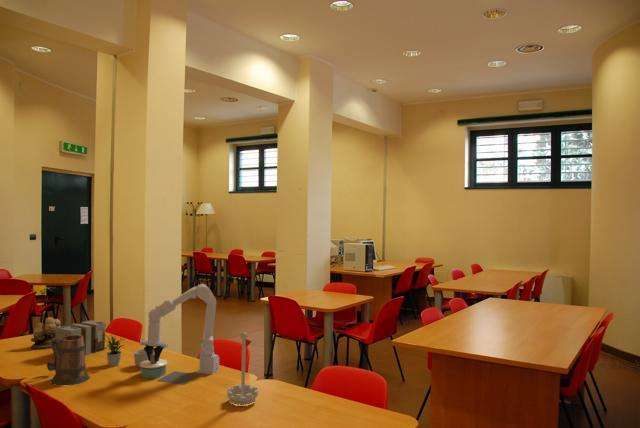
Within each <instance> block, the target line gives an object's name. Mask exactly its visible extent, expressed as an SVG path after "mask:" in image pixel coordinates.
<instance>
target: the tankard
mask: <svg viewBox="0 0 640 428" xmlns="http://www.w3.org/2000/svg"><path fill="white" fill-rule="evenodd" d="M51 349H52V352H53V356H54V357H53V358H54V359H53V360H51V361H47V363H46V368H47V370H48V371H49V372H52V371H54V372H55V375H54V376H53V377H52V379H51V380H50V381H51V383H52V384H51V383H50V384H51V385H53V384H56V385H55V386H57V385H69V386H75V384H76V385H80V384H83V383H86V382H88V380H90V378H91V377H90V375H88V372H87V371H86V365H87V364H86V360H85V359H86V357H85V356H86V355H85V344H84V339H83V336H81V335H74V336H65V337H61V338H60V339H57V340H53V341H52V348H51Z"/></svg>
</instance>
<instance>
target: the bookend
mask: <svg viewBox="0 0 640 428" xmlns="http://www.w3.org/2000/svg"><path fill="white" fill-rule="evenodd" d="M74 335H81V336H83V339H84V344H85V356H88V355H91V354H92V353H95V354H96V353H98V352H102V351H104V350H106V349H104V350H103V348H106V342H105V341H106V322H104V321H97V320H86V321H82V322H81V321H80V323H72V324H70V326H69V325H64V326H61V327H58V328H56V336H55V340H57V339H60V338H61V337H65V336H74ZM99 338H102V339H99Z"/></svg>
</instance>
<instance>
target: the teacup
mask: <svg viewBox="0 0 640 428" xmlns="http://www.w3.org/2000/svg"><path fill="white" fill-rule="evenodd" d="M153 354H155V353H154V349H153ZM133 356H134V363H135V366H136V367H138V368H140V369H141V367H140V366H139V364H140V363H141V362H143V361H146V360H148V356H147V353H146V351H145V350H144V348H140V349H138V350H135V351H134V352H133Z"/></svg>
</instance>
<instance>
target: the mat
mask: <svg viewBox="0 0 640 428" xmlns="http://www.w3.org/2000/svg"><path fill="white" fill-rule="evenodd" d="M200 376H201V374H200V373H198V374H197V373H189V372H183V371H176V370H174V371H172V372H170V373H168V374H167V375H166V374H165V375H164V376H162V377H160V378H159V379H157V380H156V382H161V383H168V384H169V383H170V384H175V385H181V386H182V385H183V386H185V385H187V384H189V383H190V382H192V381H194V380H195V379H196V378H198V377H200Z"/></svg>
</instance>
